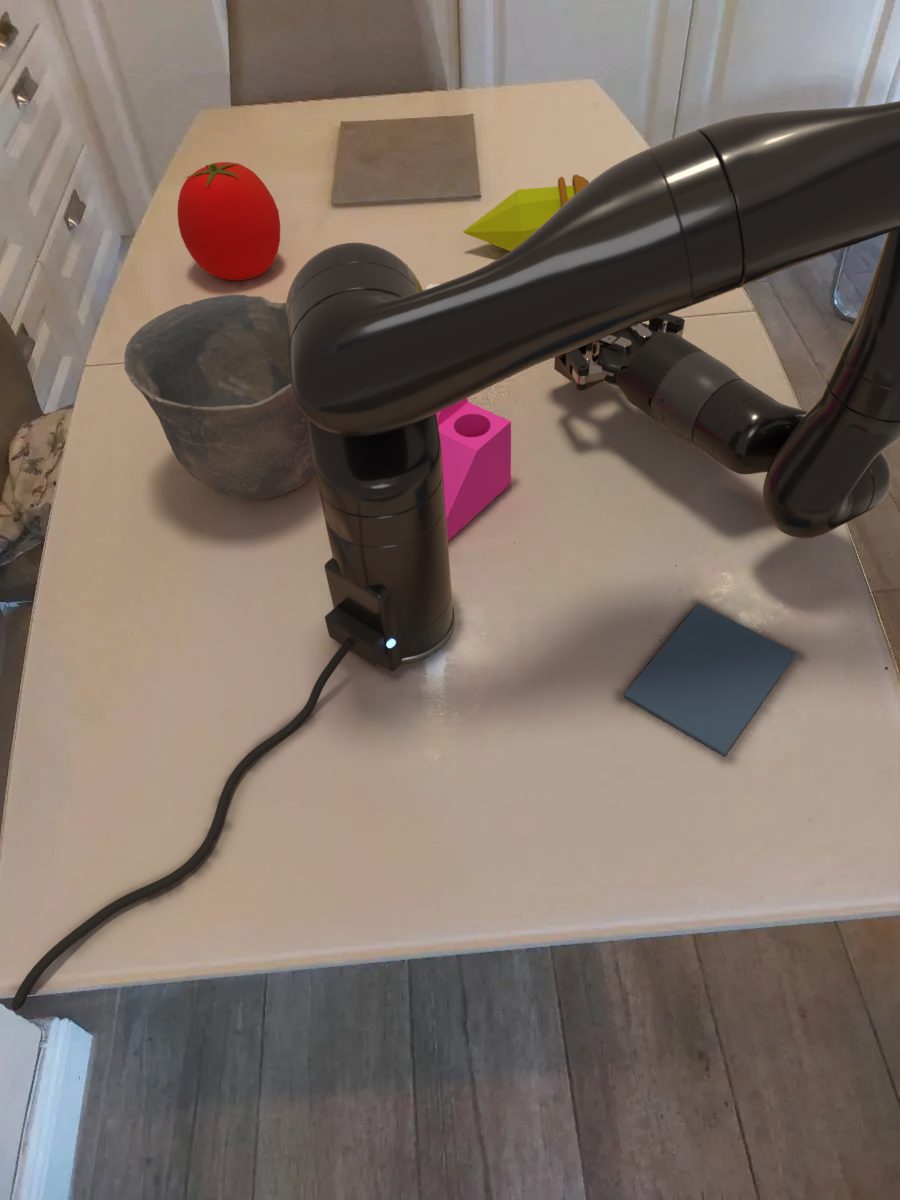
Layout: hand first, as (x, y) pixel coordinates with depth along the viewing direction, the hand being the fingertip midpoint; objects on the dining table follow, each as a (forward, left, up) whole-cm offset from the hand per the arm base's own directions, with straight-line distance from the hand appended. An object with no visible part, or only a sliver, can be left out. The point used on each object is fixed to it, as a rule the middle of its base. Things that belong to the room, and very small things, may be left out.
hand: (569, 312), depth 94 cm
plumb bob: (+23, +17, -9) cm, 30 cm away
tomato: (-5, +48, -9) cm, 49 cm away
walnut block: (-1, -3, -6) cm, 7 cm away
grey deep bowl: (-31, +17, -9) cm, 36 cm away
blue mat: (-26, -32, -9) cm, 42 cm away
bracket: (-23, 0, -9) cm, 25 cm away
